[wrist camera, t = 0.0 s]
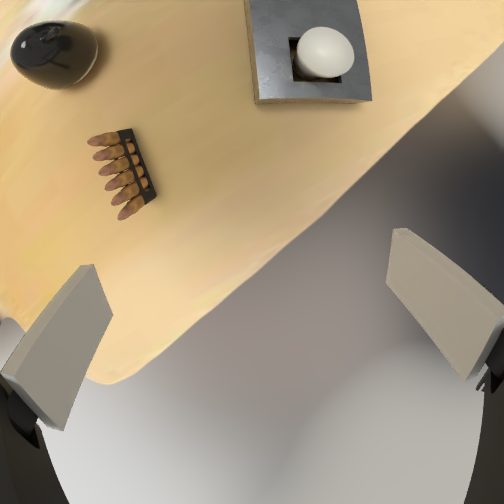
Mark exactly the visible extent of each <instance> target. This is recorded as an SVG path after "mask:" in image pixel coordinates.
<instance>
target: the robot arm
mask: <svg viewBox="0 0 504 504" xmlns="http://www.w3.org/2000/svg"><path fill="white" fill-rule="evenodd" d="M386 284H387V285H388V286H389V287H390V288H391V290H392V291H393V292H394V293H395V294H396V295H397V297H398V298H399V299H400V300H401V301H402V303H403V304H404V305H405V306H406V307H407V309H408V310H409V311H410V312H411V314H412V315H413V316H414V317H415V318H416V320H417V321H418V322H419V323H420V325H421V326H422V327H423V328H424V330H425V331H426V332H427V334H428V335H429V336H430V337H431V339H432V340H433V341H434V343H435V344H436V345H437V347H438V348H439V349H440V350H441V352H442V353H443V355H444V356H445V357H446V359H447V360H448V362H449V363H450V364H451V366H452V367H453V369H454V370H455V371H456V373H457V374H458V376H459V377H460V379H461V380H462V381H463V383H464V382H466V381H468V380H470V379H472V378H473V377H475V376H477V375H478V373H479V372H480V370H481V368H482V367H483V365H484V363H486V364H487V366H488V367H489V368H488V369H487V371H486V373H485V374H484V376H483V377H482V379H481V380H480V382H479V383H478V385H477V387H476V390H479V389H480V387H481V386H482V384H483V383H485V386H484V387H483V389H482V391H483V392H484V407H483V417H482V426H481V433H480V439H479V445H478V451H477V456H476V461H475V465H474V470H473V473H472V477H471V481H470V485H469V488H468V491H467V495H466V498H465V501H464V504H504V303H503V302H502V301H501V300H499V299H498V298H497V297H496V296H495V295H494V294H491V291H489V290H488V289H487V288H485V286H484V285H482V284H481V283H480V282H479V281H478V280H476V279H475V278H473V277H471V276H470V275H469V274H467V273H466V272H465V271H464V270H463V269H461V268H460V267H459V266H457V265H456V264H455V263H454V262H453V261H451V260H450V259H449V258H447V257H446V256H445V255H443V254H442V253H441V252H439V251H438V250H437V249H435V248H434V247H433V246H431V245H430V244H429V243H427V242H426V241H424V240H423V239H422V238H420V237H419V236H417V235H416V234H414V233H413V232H412V231H410V230H409V229H407V228H401V229H393V234H392V243H391V251H390V258H389V265H388V272H387V278H386ZM112 317H113V313H112V311H111V308H110V306H109V303H108V301H107V298H106V296H105V293H104V291H103V288H102V286H101V283H100V280H99V278H98V275H97V272H96V269H95V266H94V264H90V265H82V266H80V267H79V268H78V269H77V270H76V271H75V272H74V274H73V275H72V276H71V277H70V278H69V279H68V281H67V282H66V283H65V284H64V285H63V286H62V288H61V289H60V290H59V291H58V292H57V294H56V295H55V296H54V297H53V299H52V300H51V301H50V302H49V304H48V305H47V306H46V307H45V309H44V310H43V311H42V312H41V314H40V315H39V316H38V318H37V319H36V320H35V322H34V323H33V324H32V326H31V327H30V329H29V330H28V331H27V333H26V334H25V335H24V336H23V338H22V339H21V341H20V343H19V344H18V345H17V347H16V348H15V350H14V352H13V353H12V354H11V356H10V357H9V359H8V360H7V362H6V364H5V365H4V367H3V368H2V370H1V372H0V504H69V502H68V500H67V498H66V496H65V494H64V491H63V489H62V487H61V485H60V482H59V480H58V478H57V475H56V473H55V470H54V467H53V465H52V462H51V459H50V456H49V454H48V451H47V448H46V444H45V441H44V438H43V435H42V431H41V429H40V427H39V426H38V425H37V424H36V421H37V419H38V418H40V420H41V421H43V423H44V424H45V425H46V426H47V427H50V428H53V429H56V430H60V431H64V428H65V425H66V422H67V419H68V417H69V414H70V411H71V408H72V406H73V403H74V401H75V398H76V396H77V393H78V391H79V388H80V386H81V383H82V381H83V379H84V376H85V374H86V372H87V369H88V367H89V365H90V363H91V360H92V358H93V356H94V354H95V352H96V349H97V347H98V345H99V343H100V341H101V339H102V337H103V335H104V333H105V331H106V329H107V327H108V325H109V323H110V321H111V319H112Z"/></svg>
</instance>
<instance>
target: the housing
mask: <svg viewBox="0 0 504 504" xmlns="http://www.w3.org/2000/svg"><path fill="white" fill-rule="evenodd" d="M244 6H245V14H246V23H247V31H248V40H249V49H250V58H251V67H252V77H253V87H254V96H255V104H267V103H291V102H325V103H349V104H354V103H361V102H368V101H372V94H371V84H370V75H369V66H368V59H367V52H366V46H365V40H364V34H363V29H362V23H361V19H360V14H359V9H358V5H357V1H356V0H244ZM315 27H328V28H332V29H334V30H336V31H338V32H340V33H341V34H342V35H344V36H345V37H346V38H347V39H348V41H349V42H350V44H351V46H352V48H353V51H354V62H353V65H352V66H351V68H350V69H349V70H348V71H347V72H346V73H344V74H342V75H339V76H338V81H339V83H327V82H293V73H292V65H291V56H290V48H289V41H288V40H300V38H301V37H302V36H303V34H304V33H305V32H307V31H308V30H310V29H312V28H315Z"/></svg>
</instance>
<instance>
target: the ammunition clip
mask: <svg viewBox="0 0 504 504" xmlns="http://www.w3.org/2000/svg"><path fill="white" fill-rule="evenodd" d="M87 143H88V144H89V145H91V146H105V147H106V146H110V147H108V148H106V149H104V150H101V151H99V152H97V153H96V154H94V156H93V159H94V160H96V161H103V160H113V159H114V161H112V162H111V163H109V164H108V165H105V166H104V167H102V168H101V169H100V171H99V175H101V176H107V175H111V174H117V173H120V174H118V175H117V176H116V177H115V178H113V179H112V180H110V181H109V182H108V183H107V184H106V186H105V190H107V191H111V190H115V189H117V188H119V187H124V186H125V187H124V188H123V189H122V190H121V191H120V192H119V193H118V194H117V195H115V196H114V198H113V199H112V201H111V205H113V206H116V205H119V204H121V203H123V202H125V201H127V200H130V201H129V202H127V204H126V206H125V207H124V208H123V209H122V210H121V211H120V213H119V214H118V220H124V219H126V218H128V217H129V216H131V215H132V214H134V213H136V212H137V211H138V210H139V209H140V208H141V207H143V206H144V205H146V204H147V203H149V202H150V201H151V200H153V199H154V198H155V197H157V194H156V192H155V189H154V187H153V184H152V182H151V179H150V177H149V174H148V172H147V169H146V167H145V164H144V161H143V159H142V156H141V153H140V151H139V148H138V145H137V143H136V140H135V137H134V134H133V132H132V129H125V130H119V131H116V132H111V133H104V134H102V135H98V136H94V137H92V138H90V139H89V140H88V141H87ZM118 144H120V145H118ZM123 156H125V157H123ZM120 157H123V158H120ZM118 158H120V159H118ZM129 168H130V169H129ZM127 169H129V170H127ZM125 170H126V171H125ZM123 171H124V172H123ZM134 180H135V181H134ZM133 181H134V182H133ZM131 182H132V183H131ZM129 183H130V184H129ZM138 193H139V194H138ZM135 195H136V196H135Z"/></svg>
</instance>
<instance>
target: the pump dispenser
mask: <svg viewBox="0 0 504 504" xmlns="http://www.w3.org/2000/svg"><path fill="white" fill-rule="evenodd" d="M97 54H98V43H97V38H96V35H95V33H94V32H93V30H92V29H90V28H89V27H87V26H85V25H83V24H80V23H76V22H71V21H44V22H40V23H36V24H34V25H31V26H29V27H27V28H26V29H24V30H23V31H22V32H21V33H20V34H19V35H18V36H17V37H16V38H15V40H14V42H13V44H12V47H11V51H10V57H11V61H12V63H13V65H14V67H15V68H16V69H17V71H18V72H19V73H20V74H22V75H23V76H24V77H25V78H27V79H28V80H30V81H31V82H33V83H35V84H37V85H39V86H42V87H44V88H47V89H52V90H61V89H65V88H67V87H69V86H71V85H73V84H75V83H77V82H79V81H80V80H81V79H83V78H84V77H85V76H86V75H87V74H88V73H89V71H90V70H91V69H92V67H93V65H94V63H95V61H96V58H97Z"/></svg>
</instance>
